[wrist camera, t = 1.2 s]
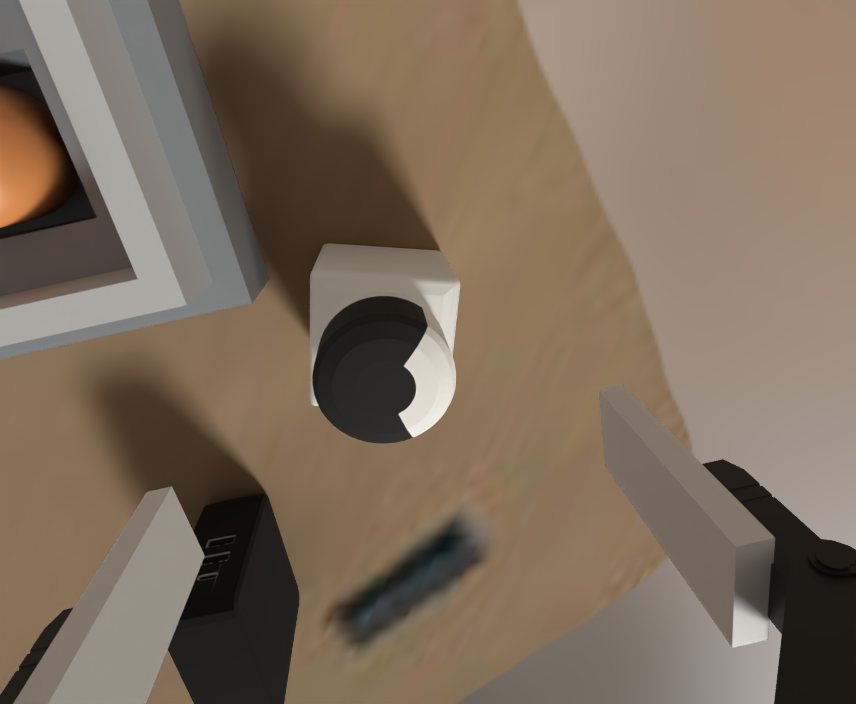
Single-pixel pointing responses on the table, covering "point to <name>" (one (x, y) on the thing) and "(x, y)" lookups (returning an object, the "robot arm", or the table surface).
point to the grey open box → (121, 179)
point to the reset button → (31, 159)
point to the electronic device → (238, 608)
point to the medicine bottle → (382, 339)
